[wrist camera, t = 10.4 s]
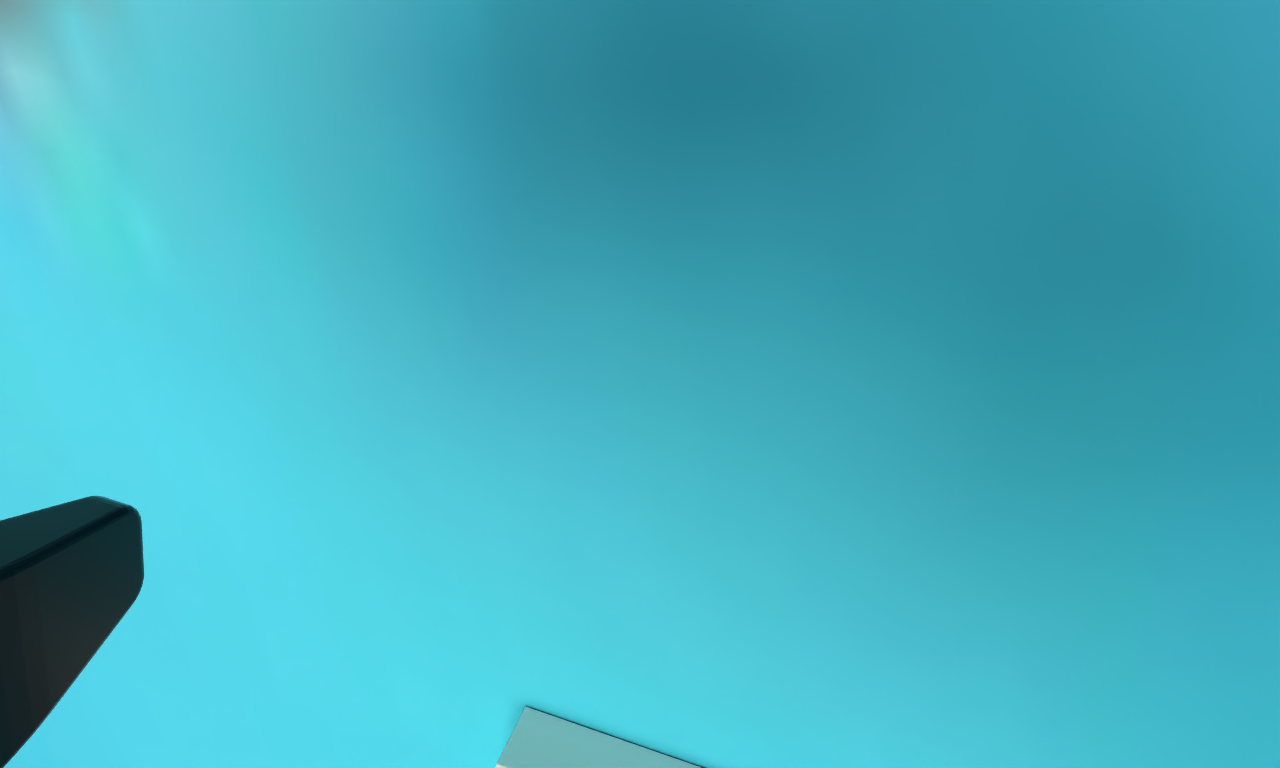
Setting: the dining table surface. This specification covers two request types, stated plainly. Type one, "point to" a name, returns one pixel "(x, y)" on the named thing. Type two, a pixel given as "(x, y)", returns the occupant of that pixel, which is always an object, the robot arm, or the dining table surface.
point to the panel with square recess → (574, 747)
